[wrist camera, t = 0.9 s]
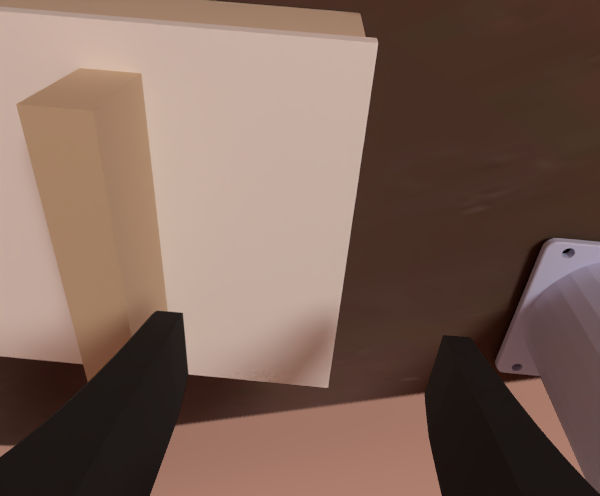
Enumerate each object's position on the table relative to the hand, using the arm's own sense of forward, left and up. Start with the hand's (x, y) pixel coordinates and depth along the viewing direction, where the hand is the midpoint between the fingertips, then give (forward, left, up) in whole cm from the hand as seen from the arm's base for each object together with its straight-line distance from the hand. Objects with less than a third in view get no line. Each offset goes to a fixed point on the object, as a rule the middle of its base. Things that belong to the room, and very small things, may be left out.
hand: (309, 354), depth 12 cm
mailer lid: (+7, 0, -5) cm, 9 cm away
